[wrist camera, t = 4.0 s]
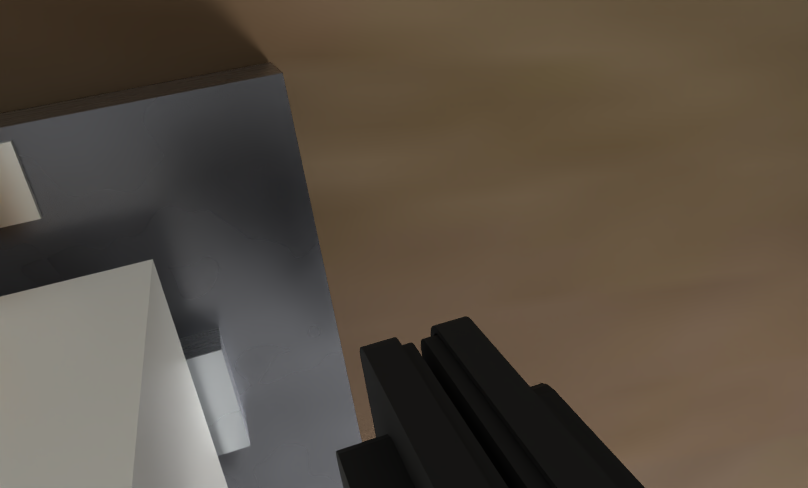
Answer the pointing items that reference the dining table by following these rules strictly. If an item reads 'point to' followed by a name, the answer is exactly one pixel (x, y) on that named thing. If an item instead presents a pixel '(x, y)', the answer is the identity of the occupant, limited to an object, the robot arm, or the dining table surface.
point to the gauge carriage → (99, 388)
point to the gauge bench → (196, 251)
